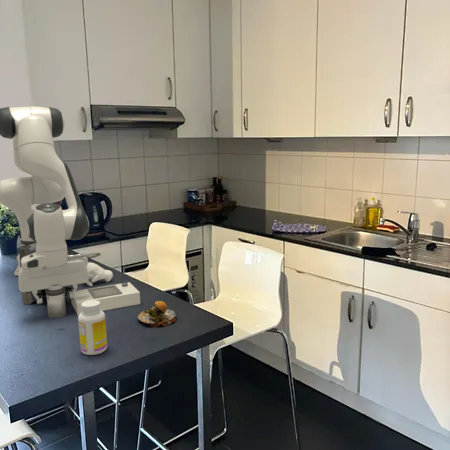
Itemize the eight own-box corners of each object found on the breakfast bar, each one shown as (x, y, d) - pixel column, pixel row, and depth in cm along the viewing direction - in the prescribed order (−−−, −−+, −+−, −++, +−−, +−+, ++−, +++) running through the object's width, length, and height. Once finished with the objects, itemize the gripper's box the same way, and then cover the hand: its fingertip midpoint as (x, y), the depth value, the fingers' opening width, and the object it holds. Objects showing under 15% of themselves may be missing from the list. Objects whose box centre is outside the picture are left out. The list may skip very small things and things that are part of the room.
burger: (145, 311, 144) (144, 289, 142) (181, 314, 142) (180, 291, 140) (131, 327, 132) (129, 303, 131) (170, 330, 130) (169, 305, 129)
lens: (46, 313, 143) (44, 282, 141) (65, 309, 145) (62, 279, 143) (49, 319, 138) (46, 287, 136) (67, 315, 140) (65, 284, 138)
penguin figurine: (80, 261, 170) (111, 260, 175) (79, 282, 171) (110, 280, 177) (82, 265, 165) (115, 263, 170) (82, 287, 166) (114, 285, 171)
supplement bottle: (110, 344, 121) (107, 298, 118) (103, 356, 114) (99, 308, 112) (85, 344, 121) (82, 298, 118) (76, 356, 115) (73, 308, 112)
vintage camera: (63, 309, 147) (61, 249, 143) (21, 304, 150) (18, 245, 146) (78, 299, 156) (77, 243, 153) (38, 294, 159) (36, 239, 156)
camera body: (71, 303, 151) (70, 289, 150) (130, 293, 160) (129, 280, 159) (77, 315, 140) (76, 300, 140) (140, 303, 150) (139, 290, 149)
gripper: (85, 250, 145) (88, 291, 148) (15, 259, 136) (19, 302, 139) (89, 255, 140) (92, 297, 143) (16, 264, 131) (21, 309, 133)
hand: (56, 300), depth 141 cm, fingers open, 8 cm apart
